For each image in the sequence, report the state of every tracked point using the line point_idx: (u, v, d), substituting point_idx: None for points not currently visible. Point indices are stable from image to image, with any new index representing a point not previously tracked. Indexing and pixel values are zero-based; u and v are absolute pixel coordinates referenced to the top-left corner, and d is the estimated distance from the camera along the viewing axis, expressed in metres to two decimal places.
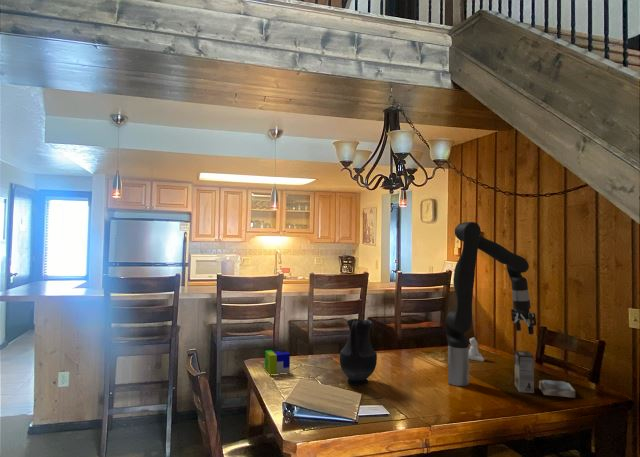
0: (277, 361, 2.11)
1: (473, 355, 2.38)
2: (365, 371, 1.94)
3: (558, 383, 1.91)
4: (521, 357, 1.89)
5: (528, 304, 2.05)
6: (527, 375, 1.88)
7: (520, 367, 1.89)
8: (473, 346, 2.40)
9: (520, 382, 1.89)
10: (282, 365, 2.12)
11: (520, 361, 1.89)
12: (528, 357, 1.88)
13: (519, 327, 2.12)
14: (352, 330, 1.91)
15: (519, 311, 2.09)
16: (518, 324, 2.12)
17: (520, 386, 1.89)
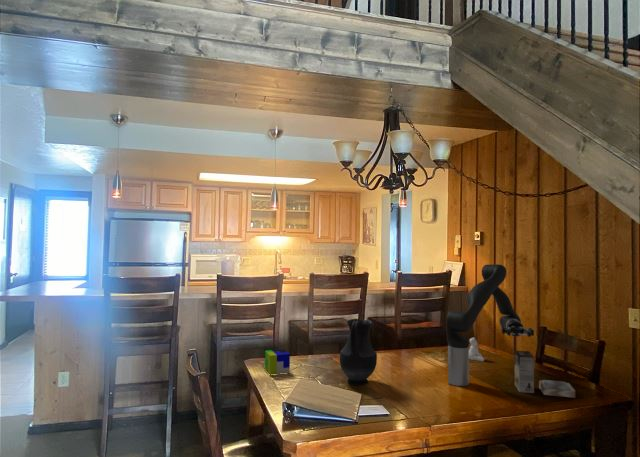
0: (277, 361, 2.11)
1: (473, 355, 2.38)
2: (365, 371, 1.94)
3: (558, 383, 1.91)
4: (521, 357, 1.89)
5: None
6: (527, 375, 1.88)
7: (520, 367, 1.89)
8: (473, 346, 2.40)
9: (520, 382, 1.89)
10: (282, 365, 2.12)
11: (520, 361, 1.89)
12: (528, 357, 1.88)
13: None
14: (352, 330, 1.91)
15: (514, 327, 2.14)
16: (509, 332, 2.09)
17: (520, 386, 1.89)
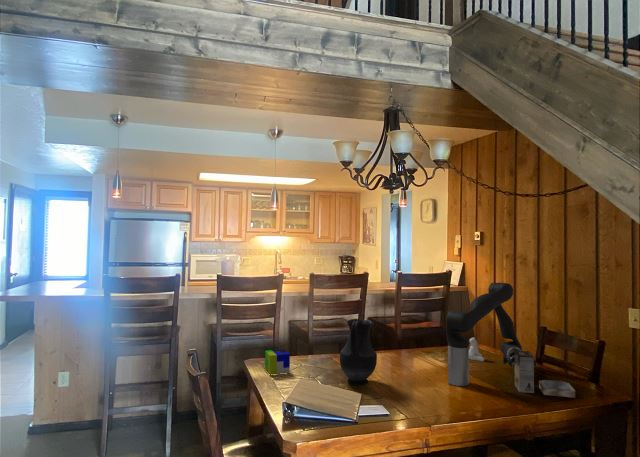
0: (277, 361, 2.11)
1: (473, 355, 2.38)
2: (365, 371, 1.94)
3: (558, 383, 1.91)
4: (521, 357, 1.89)
5: None
6: (527, 375, 1.88)
7: (520, 367, 1.89)
8: (473, 346, 2.40)
9: (520, 382, 1.89)
10: (282, 365, 2.12)
11: (520, 361, 1.89)
12: (528, 357, 1.88)
13: (511, 364, 2.01)
14: (352, 330, 1.91)
15: None
16: None
17: (520, 386, 1.89)
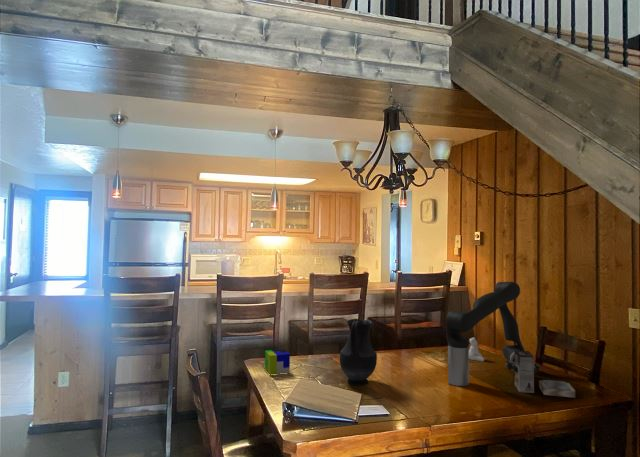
0: (277, 361, 2.11)
1: (473, 355, 2.38)
2: (365, 371, 1.94)
3: (558, 383, 1.91)
4: (521, 357, 1.89)
5: None
6: (527, 375, 1.88)
7: (520, 367, 1.89)
8: (473, 346, 2.40)
9: (520, 382, 1.89)
10: (282, 365, 2.12)
11: (520, 361, 1.89)
12: (528, 357, 1.88)
13: (516, 370, 1.92)
14: (352, 330, 1.91)
15: None
16: None
17: (520, 386, 1.89)
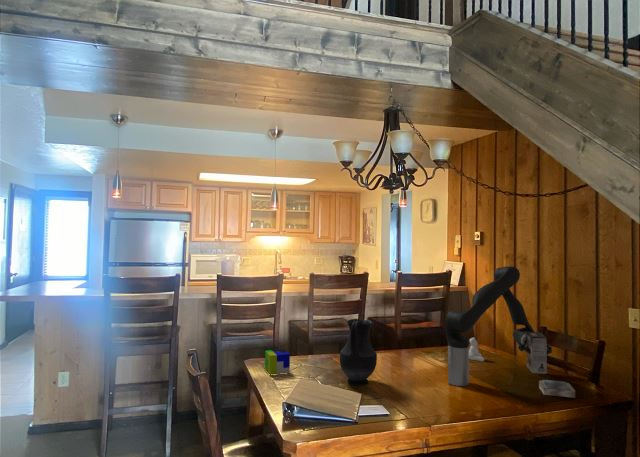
0: (277, 361, 2.11)
1: (473, 355, 2.38)
2: (365, 371, 1.94)
3: (558, 383, 1.91)
4: (534, 338, 1.88)
5: None
6: (540, 356, 1.87)
7: (533, 348, 1.88)
8: (473, 346, 2.40)
9: (533, 363, 1.88)
10: (282, 365, 2.12)
11: (533, 342, 1.88)
12: (541, 338, 1.87)
13: None
14: (352, 330, 1.91)
15: None
16: None
17: (533, 367, 1.88)
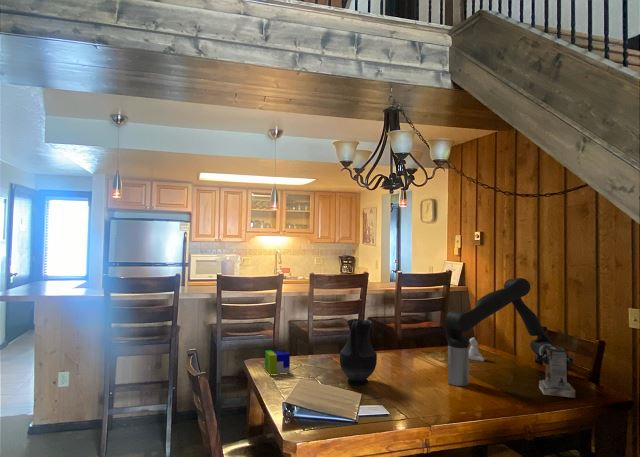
0: (277, 361, 2.11)
1: (473, 355, 2.38)
2: (365, 371, 1.94)
3: None
4: (553, 352, 1.85)
5: None
6: (560, 370, 1.85)
7: (552, 362, 1.85)
8: (473, 346, 2.40)
9: (552, 377, 1.85)
10: (282, 365, 2.12)
11: (552, 356, 1.85)
12: (560, 352, 1.85)
13: None
14: (352, 330, 1.91)
15: None
16: None
17: (552, 381, 1.85)
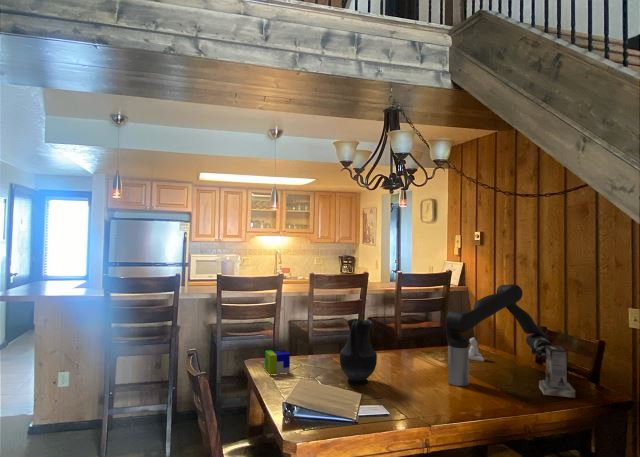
0: (277, 361, 2.11)
1: (473, 355, 2.38)
2: (365, 371, 1.94)
3: None
4: (553, 352, 1.85)
5: None
6: (560, 370, 1.85)
7: (552, 362, 1.85)
8: (473, 346, 2.40)
9: (552, 377, 1.85)
10: (282, 365, 2.12)
11: (552, 356, 1.85)
12: (560, 352, 1.85)
13: None
14: (352, 330, 1.91)
15: None
16: None
17: (552, 381, 1.85)
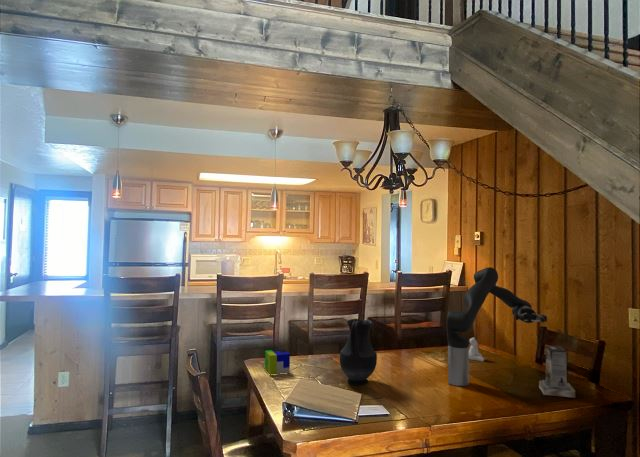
0: (277, 361, 2.11)
1: (473, 355, 2.38)
2: (365, 371, 1.94)
3: None
4: (553, 352, 1.85)
5: None
6: (560, 370, 1.85)
7: (552, 362, 1.85)
8: (473, 346, 2.40)
9: (552, 377, 1.85)
10: (282, 365, 2.12)
11: (552, 356, 1.85)
12: (560, 352, 1.85)
13: (523, 319, 2.11)
14: (352, 330, 1.91)
15: None
16: None
17: (552, 381, 1.85)
